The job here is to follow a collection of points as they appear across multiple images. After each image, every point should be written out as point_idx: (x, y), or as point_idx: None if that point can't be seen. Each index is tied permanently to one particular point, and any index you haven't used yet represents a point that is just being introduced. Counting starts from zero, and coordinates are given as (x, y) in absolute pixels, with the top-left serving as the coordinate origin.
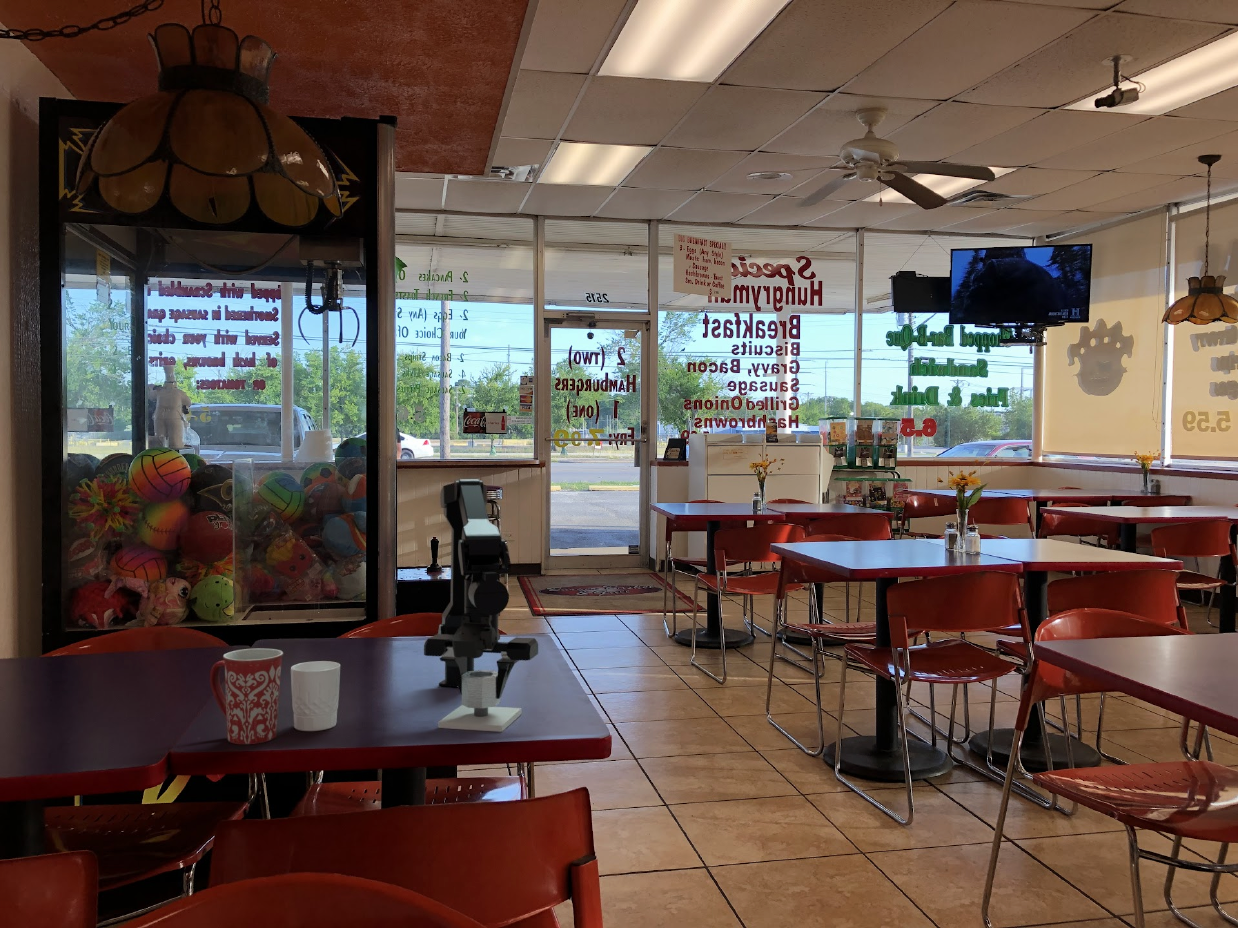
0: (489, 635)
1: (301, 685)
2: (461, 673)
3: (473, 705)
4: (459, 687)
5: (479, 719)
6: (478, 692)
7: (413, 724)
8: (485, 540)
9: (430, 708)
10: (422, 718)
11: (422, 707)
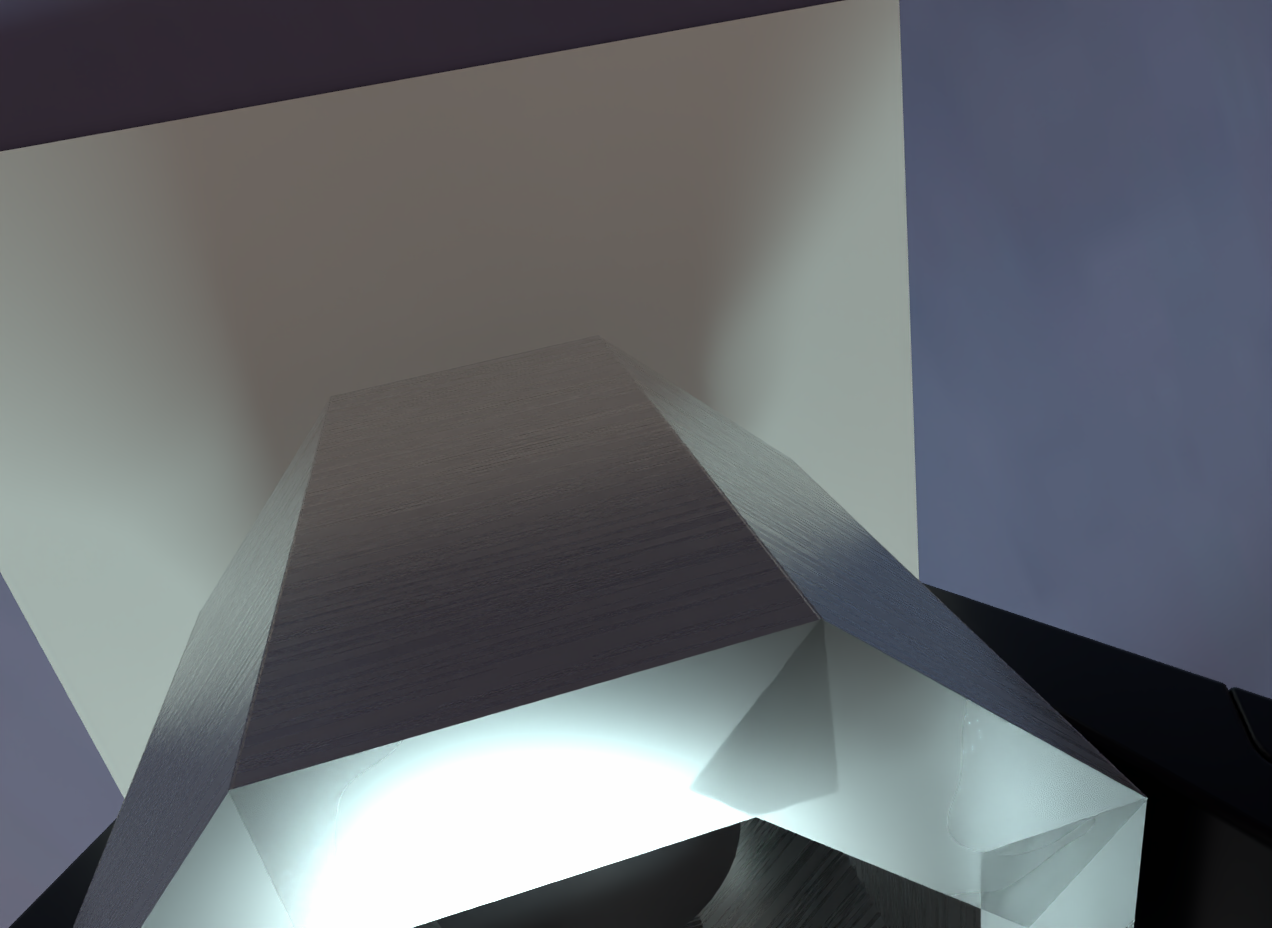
0: None
1: None
2: (1195, 868)
3: (501, 370)
4: (993, 617)
5: (402, 353)
6: (400, 495)
7: (1197, 29)
8: None
9: (1193, 631)
10: (1169, 304)
11: (1268, 622)
